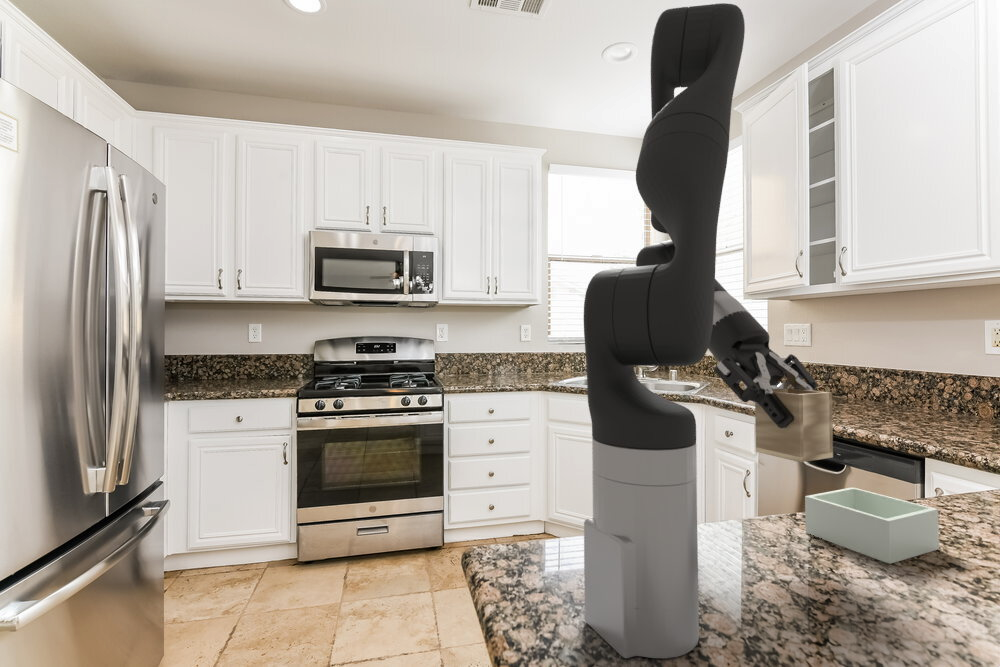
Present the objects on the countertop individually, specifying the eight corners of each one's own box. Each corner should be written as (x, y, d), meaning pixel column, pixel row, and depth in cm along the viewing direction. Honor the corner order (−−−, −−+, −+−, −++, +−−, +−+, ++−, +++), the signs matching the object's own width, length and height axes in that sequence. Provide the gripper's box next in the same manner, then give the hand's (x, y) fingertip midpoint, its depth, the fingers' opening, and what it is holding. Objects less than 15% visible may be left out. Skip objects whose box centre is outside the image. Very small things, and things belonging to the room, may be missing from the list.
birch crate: (800, 462, 57) (799, 394, 58) (755, 451, 63) (755, 390, 63) (833, 457, 60) (832, 392, 60) (787, 447, 65) (786, 388, 65)
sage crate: (889, 563, 57) (888, 521, 57) (805, 532, 66) (805, 496, 67) (939, 549, 61) (938, 509, 61) (853, 521, 70) (852, 487, 70)
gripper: (703, 308, 66) (786, 406, 55) (776, 310, 71) (865, 400, 60) (675, 347, 71) (746, 445, 59) (746, 346, 76) (823, 435, 65)
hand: (806, 421), depth 60 cm, fingers closed on birch crate, 6 cm apart
